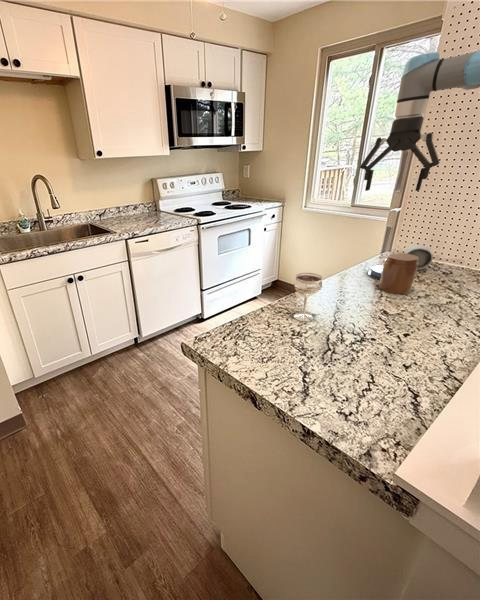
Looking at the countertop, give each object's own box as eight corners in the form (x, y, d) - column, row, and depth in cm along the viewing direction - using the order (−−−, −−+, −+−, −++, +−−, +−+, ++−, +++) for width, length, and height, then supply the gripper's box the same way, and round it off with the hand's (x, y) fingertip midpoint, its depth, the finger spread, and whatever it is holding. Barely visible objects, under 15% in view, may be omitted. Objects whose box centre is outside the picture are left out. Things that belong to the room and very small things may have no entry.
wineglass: (296, 323, 84) (302, 283, 78) (285, 312, 90) (290, 273, 85) (322, 321, 83) (329, 280, 78) (309, 310, 90) (314, 271, 85)
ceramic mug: (427, 263, 112) (433, 243, 108) (429, 271, 106) (435, 249, 102) (390, 261, 117) (394, 241, 114) (390, 268, 112) (395, 247, 108)
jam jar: (417, 291, 94) (427, 258, 89) (396, 295, 92) (405, 262, 88) (392, 282, 101) (400, 251, 97) (372, 286, 100) (379, 255, 95)
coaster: (411, 277, 102) (412, 276, 102) (387, 283, 101) (387, 282, 100) (383, 268, 111) (384, 267, 111) (360, 273, 110) (360, 272, 109)
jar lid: (387, 268, 110) (389, 264, 109) (408, 277, 102) (410, 272, 101) (364, 271, 110) (365, 267, 109) (383, 280, 102) (385, 275, 101)
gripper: (466, 110, 88) (442, 188, 97) (364, 123, 105) (352, 188, 114) (463, 110, 84) (439, 192, 93) (357, 123, 101) (345, 191, 110)
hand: (391, 190), depth 104 cm, fingers open, 13 cm apart
